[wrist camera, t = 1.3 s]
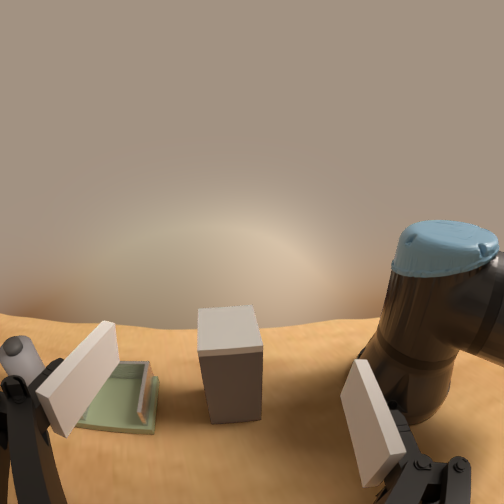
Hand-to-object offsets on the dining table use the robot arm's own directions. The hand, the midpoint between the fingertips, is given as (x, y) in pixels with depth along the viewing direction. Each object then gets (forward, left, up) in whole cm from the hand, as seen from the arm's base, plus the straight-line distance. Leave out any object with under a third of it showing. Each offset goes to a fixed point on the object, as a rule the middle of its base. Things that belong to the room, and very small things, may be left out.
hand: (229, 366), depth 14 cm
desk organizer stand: (+21, -12, -20) cm, 31 cm away
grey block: (0, -12, -20) cm, 23 cm away
